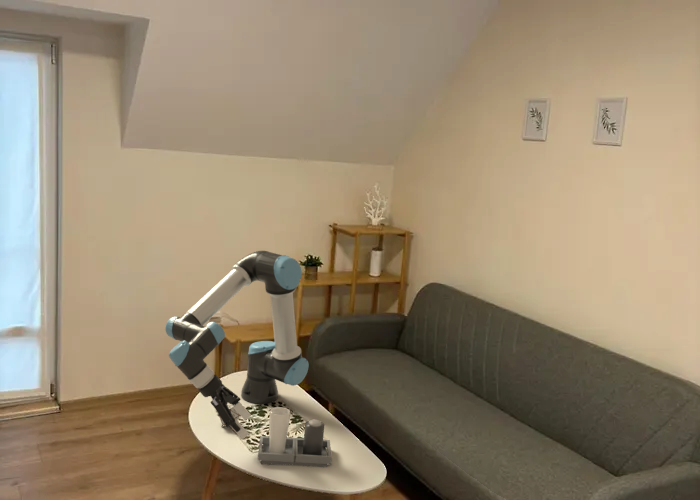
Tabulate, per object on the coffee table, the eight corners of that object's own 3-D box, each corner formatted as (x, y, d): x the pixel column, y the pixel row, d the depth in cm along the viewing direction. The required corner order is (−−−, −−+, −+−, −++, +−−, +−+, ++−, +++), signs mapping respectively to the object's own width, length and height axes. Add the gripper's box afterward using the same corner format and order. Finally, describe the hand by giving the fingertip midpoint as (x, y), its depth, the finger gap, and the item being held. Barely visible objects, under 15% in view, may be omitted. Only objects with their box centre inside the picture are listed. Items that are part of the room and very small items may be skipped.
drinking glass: (283, 458, 219) (286, 416, 216) (264, 454, 220) (267, 413, 218) (289, 449, 225) (292, 408, 223) (270, 446, 227) (273, 405, 224)
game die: (222, 434, 241) (208, 411, 241) (240, 421, 246) (227, 398, 247) (231, 432, 234) (217, 408, 234) (249, 419, 239) (236, 395, 239)
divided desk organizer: (259, 444, 229) (262, 410, 226) (328, 448, 231) (332, 415, 229) (257, 463, 216) (260, 427, 214) (330, 467, 218) (334, 432, 216)
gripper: (202, 373, 228) (240, 416, 233) (191, 404, 204) (235, 451, 209) (219, 360, 228) (257, 404, 233) (210, 390, 204) (253, 438, 208)
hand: (246, 426), depth 221 cm, fingers open, 13 cm apart
